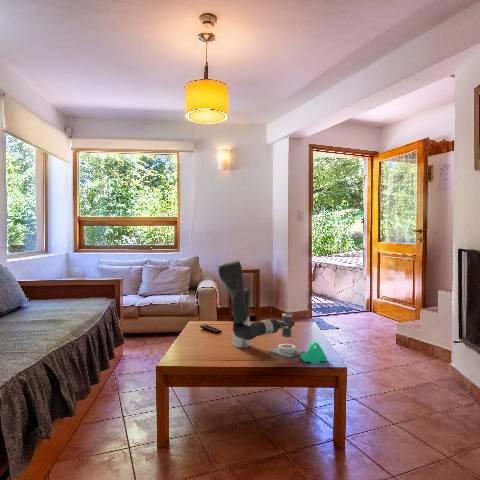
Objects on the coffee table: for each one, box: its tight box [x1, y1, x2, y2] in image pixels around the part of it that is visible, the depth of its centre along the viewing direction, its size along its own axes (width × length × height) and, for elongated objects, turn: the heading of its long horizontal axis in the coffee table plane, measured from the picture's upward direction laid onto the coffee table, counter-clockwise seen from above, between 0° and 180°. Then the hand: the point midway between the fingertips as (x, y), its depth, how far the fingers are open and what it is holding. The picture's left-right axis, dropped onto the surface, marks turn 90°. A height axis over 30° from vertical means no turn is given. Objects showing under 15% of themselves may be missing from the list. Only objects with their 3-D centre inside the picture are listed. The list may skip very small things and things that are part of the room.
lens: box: [281, 312, 293, 338], centre depth 206 cm, size 5×5×12 cm
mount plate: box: [268, 343, 306, 359], centre depth 206 cm, size 14×14×4 cm
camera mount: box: [299, 340, 328, 364], centre depth 194 cm, size 12×8×10 cm, turn 97°
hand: (290, 322), depth 208 cm, fingers closed on lens, 5 cm apart
